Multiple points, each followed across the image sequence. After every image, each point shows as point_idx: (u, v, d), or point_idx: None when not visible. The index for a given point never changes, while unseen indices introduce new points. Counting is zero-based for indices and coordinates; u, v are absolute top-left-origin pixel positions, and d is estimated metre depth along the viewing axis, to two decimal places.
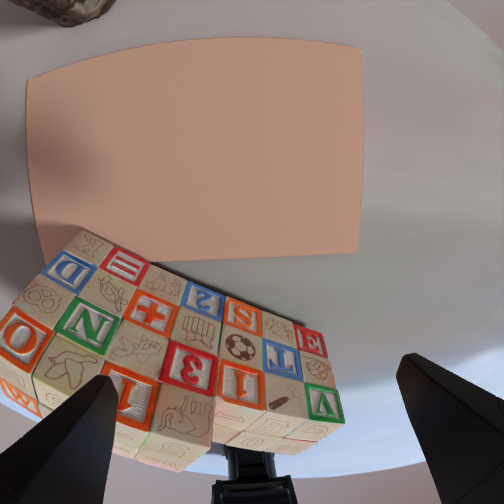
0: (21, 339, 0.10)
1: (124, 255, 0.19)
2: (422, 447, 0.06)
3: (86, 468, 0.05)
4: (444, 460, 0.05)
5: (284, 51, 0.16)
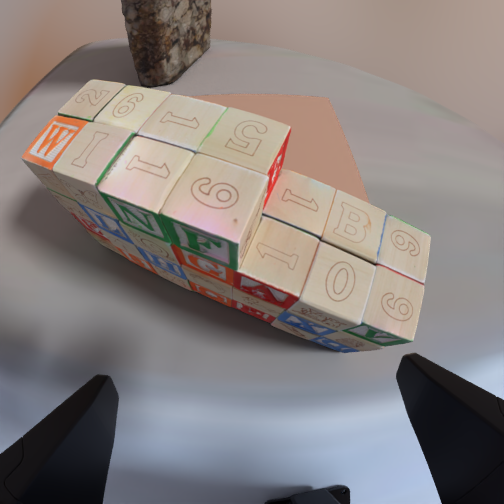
0: None
1: None
2: (422, 447, 0.06)
3: (86, 468, 0.05)
4: (444, 460, 0.05)
5: (283, 99, 0.30)
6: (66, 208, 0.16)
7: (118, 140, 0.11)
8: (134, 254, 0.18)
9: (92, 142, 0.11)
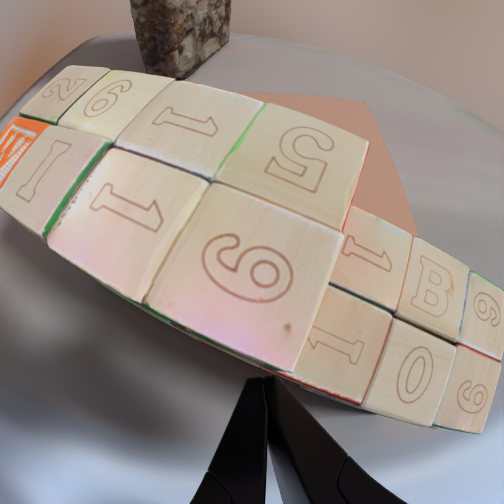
0: None
1: None
2: (278, 484, 0.06)
3: None
4: None
5: (316, 101, 0.25)
6: None
7: (82, 155, 0.06)
8: None
9: (47, 159, 0.06)
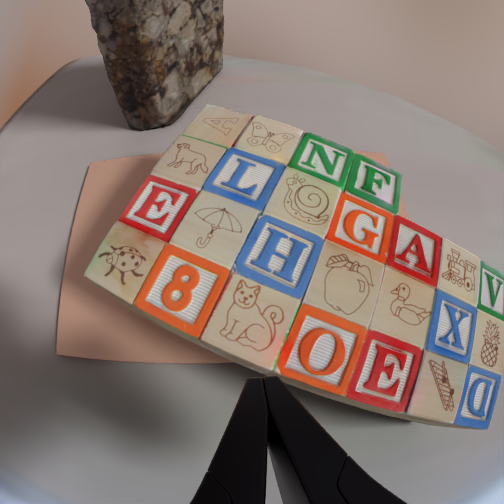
0: None
1: None
2: (278, 484, 0.06)
3: None
4: None
5: None
6: (159, 166, 0.14)
7: None
8: (218, 249, 0.12)
9: None
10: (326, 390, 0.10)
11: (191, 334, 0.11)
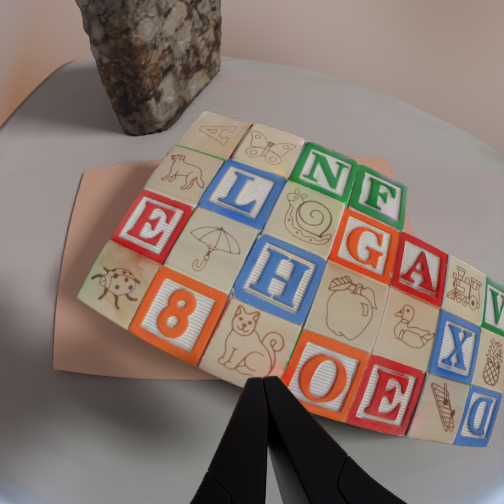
0: None
1: None
2: None
3: None
4: None
5: None
6: (153, 180, 0.13)
7: None
8: (215, 272, 0.11)
9: None
10: (326, 416, 0.09)
11: (188, 362, 0.10)
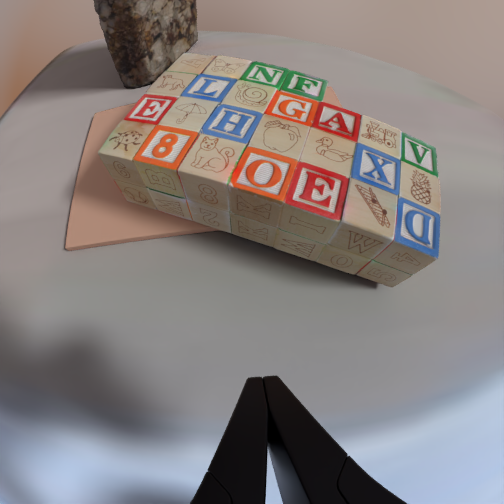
0: None
1: None
2: None
3: None
4: None
5: None
6: (151, 88, 0.18)
7: None
8: (190, 122, 0.16)
9: None
10: (269, 197, 0.15)
11: (171, 168, 0.15)
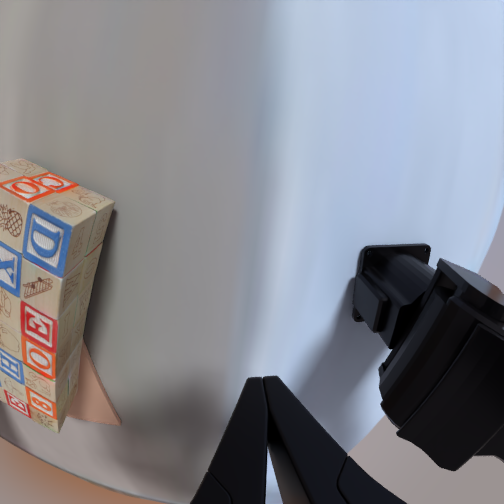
0: None
1: None
2: None
3: None
4: None
5: None
6: (2, 400, 0.16)
7: None
8: (20, 388, 0.16)
9: None
10: (55, 361, 0.15)
11: (55, 405, 0.16)
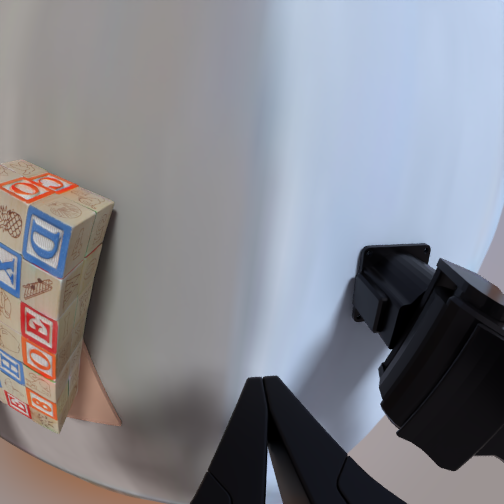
0: None
1: None
2: None
3: None
4: None
5: None
6: (2, 401, 0.16)
7: None
8: (20, 389, 0.16)
9: None
10: (55, 361, 0.15)
11: (56, 405, 0.16)
